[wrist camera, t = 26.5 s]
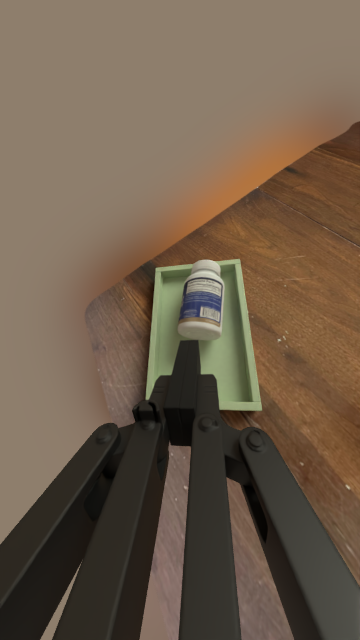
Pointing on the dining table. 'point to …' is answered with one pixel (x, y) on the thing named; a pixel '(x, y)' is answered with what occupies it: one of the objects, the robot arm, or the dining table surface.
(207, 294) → the pill bottle
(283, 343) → the dining table surface
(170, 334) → the tray
